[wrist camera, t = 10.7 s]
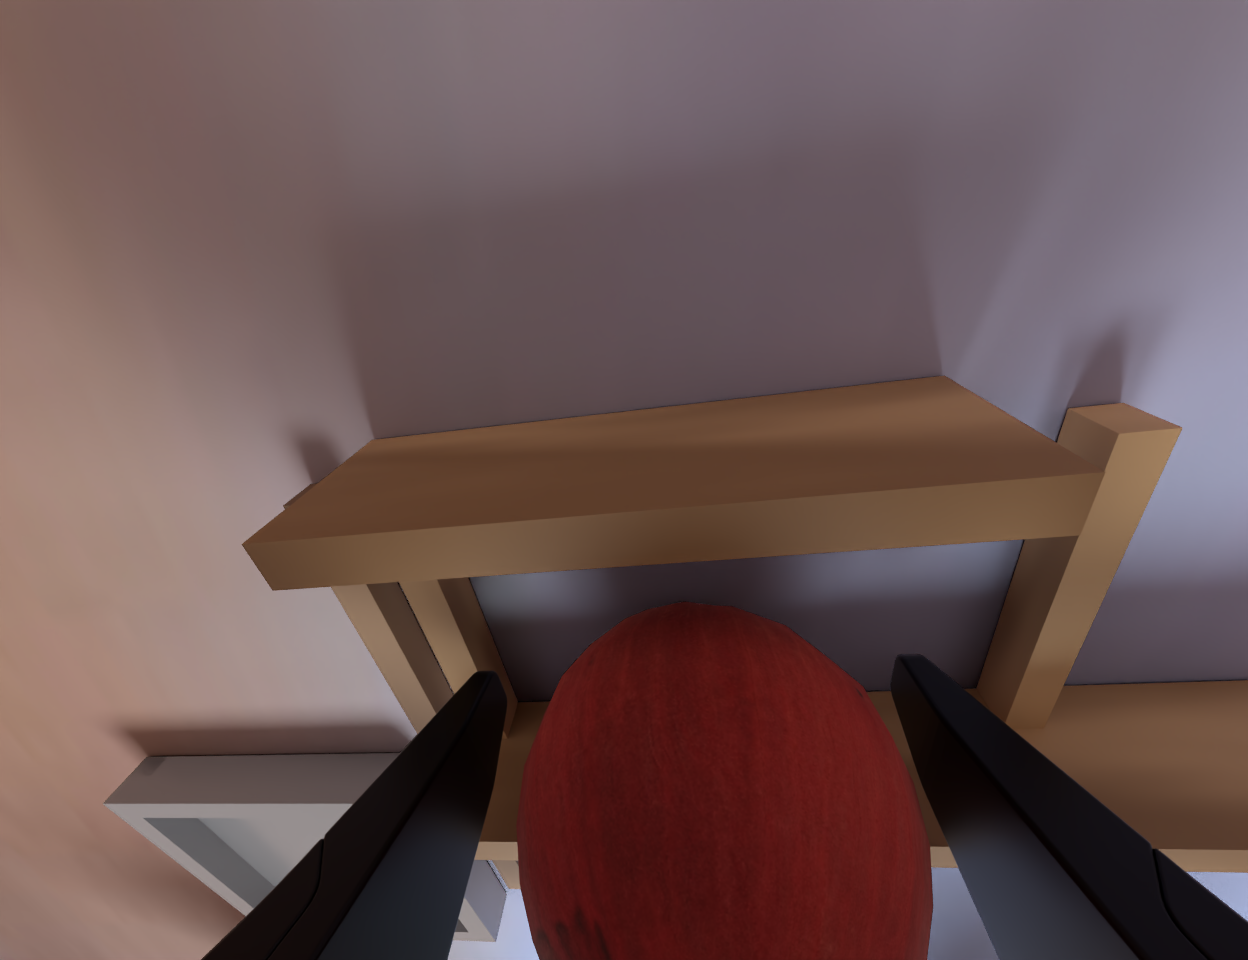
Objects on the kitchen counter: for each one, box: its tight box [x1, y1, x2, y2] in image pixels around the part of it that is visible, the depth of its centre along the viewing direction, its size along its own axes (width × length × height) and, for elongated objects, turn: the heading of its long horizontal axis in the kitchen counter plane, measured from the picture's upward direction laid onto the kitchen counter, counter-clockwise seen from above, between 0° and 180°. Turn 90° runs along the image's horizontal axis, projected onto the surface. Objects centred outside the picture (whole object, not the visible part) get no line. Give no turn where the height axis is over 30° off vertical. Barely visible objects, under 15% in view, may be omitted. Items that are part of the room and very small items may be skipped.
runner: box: [283, 484, 521, 889], centre depth 13 cm, size 16×1×1 cm, turn 8°
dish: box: [103, 753, 507, 942], centre depth 17 cm, size 10×10×1 cm
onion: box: [516, 601, 933, 960], centre depth 7 cm, size 6×6×8 cm
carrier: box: [242, 376, 1248, 873], centre depth 8 cm, size 9×18×3 cm, turn 98°
